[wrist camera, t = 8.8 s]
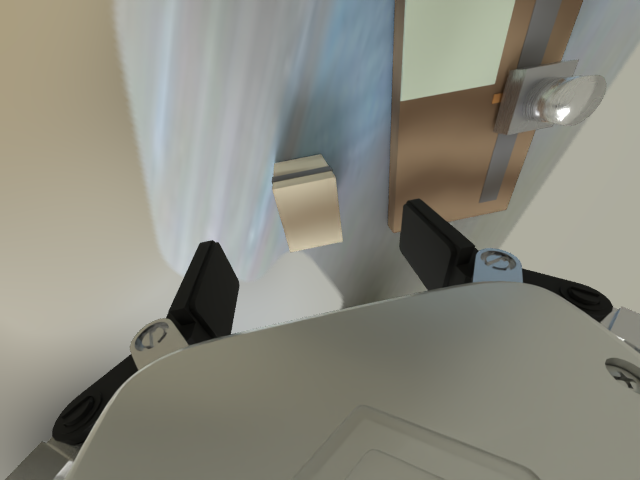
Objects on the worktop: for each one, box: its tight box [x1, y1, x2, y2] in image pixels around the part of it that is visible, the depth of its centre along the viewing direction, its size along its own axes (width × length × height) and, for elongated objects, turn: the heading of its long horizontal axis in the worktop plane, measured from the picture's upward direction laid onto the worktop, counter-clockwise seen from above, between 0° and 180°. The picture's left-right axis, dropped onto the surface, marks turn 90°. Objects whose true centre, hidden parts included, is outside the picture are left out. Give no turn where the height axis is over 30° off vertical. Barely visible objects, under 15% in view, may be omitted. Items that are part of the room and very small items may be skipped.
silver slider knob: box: [493, 60, 606, 135], centre depth 15 cm, size 4×4×4 cm
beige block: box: [272, 154, 343, 252], centre depth 18 cm, size 5×4×6 cm
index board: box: [388, 0, 583, 233], centre depth 18 cm, size 20×12×2 cm, turn 8°
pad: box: [400, 0, 515, 101], centre depth 14 cm, size 7×7×1 cm
